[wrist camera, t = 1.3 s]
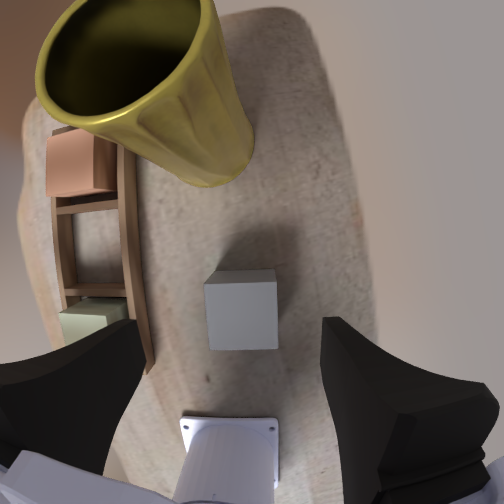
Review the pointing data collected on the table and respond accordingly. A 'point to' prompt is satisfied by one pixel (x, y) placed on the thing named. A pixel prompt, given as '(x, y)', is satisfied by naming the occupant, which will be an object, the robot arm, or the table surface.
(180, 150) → the vase
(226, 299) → the grey block
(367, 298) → the table surface
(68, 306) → the walnut rack
